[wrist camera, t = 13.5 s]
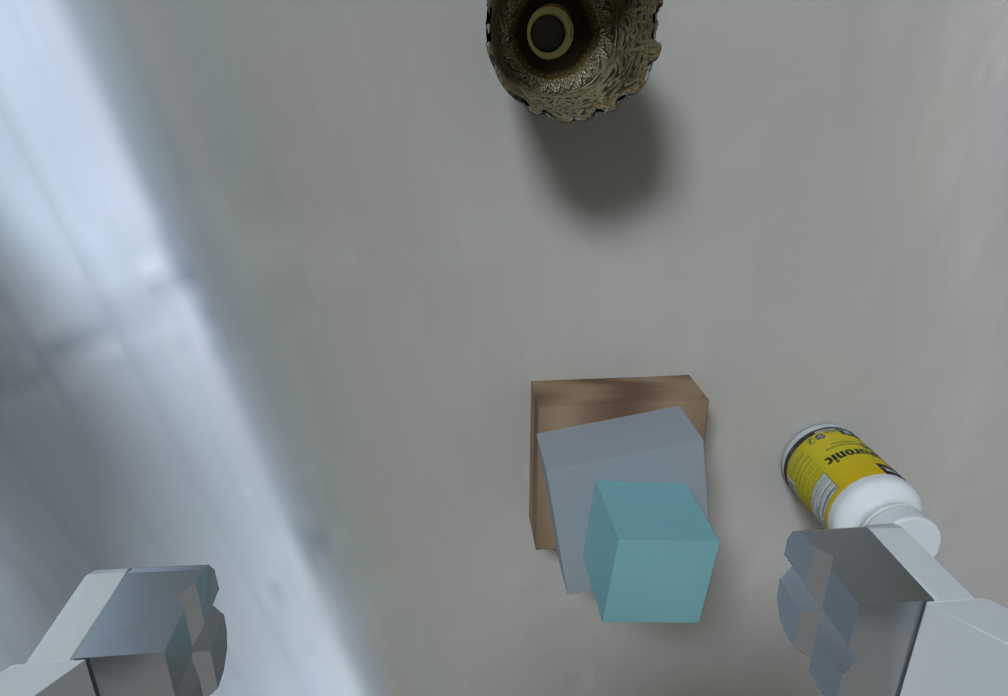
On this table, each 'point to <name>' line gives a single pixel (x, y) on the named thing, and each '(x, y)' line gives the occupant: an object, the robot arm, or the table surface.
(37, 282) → the table surface
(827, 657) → the robot arm
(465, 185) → the table surface
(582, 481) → the grey top block
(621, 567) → the teal cube
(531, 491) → the walnut base block
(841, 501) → the supplement bottle
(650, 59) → the cup
